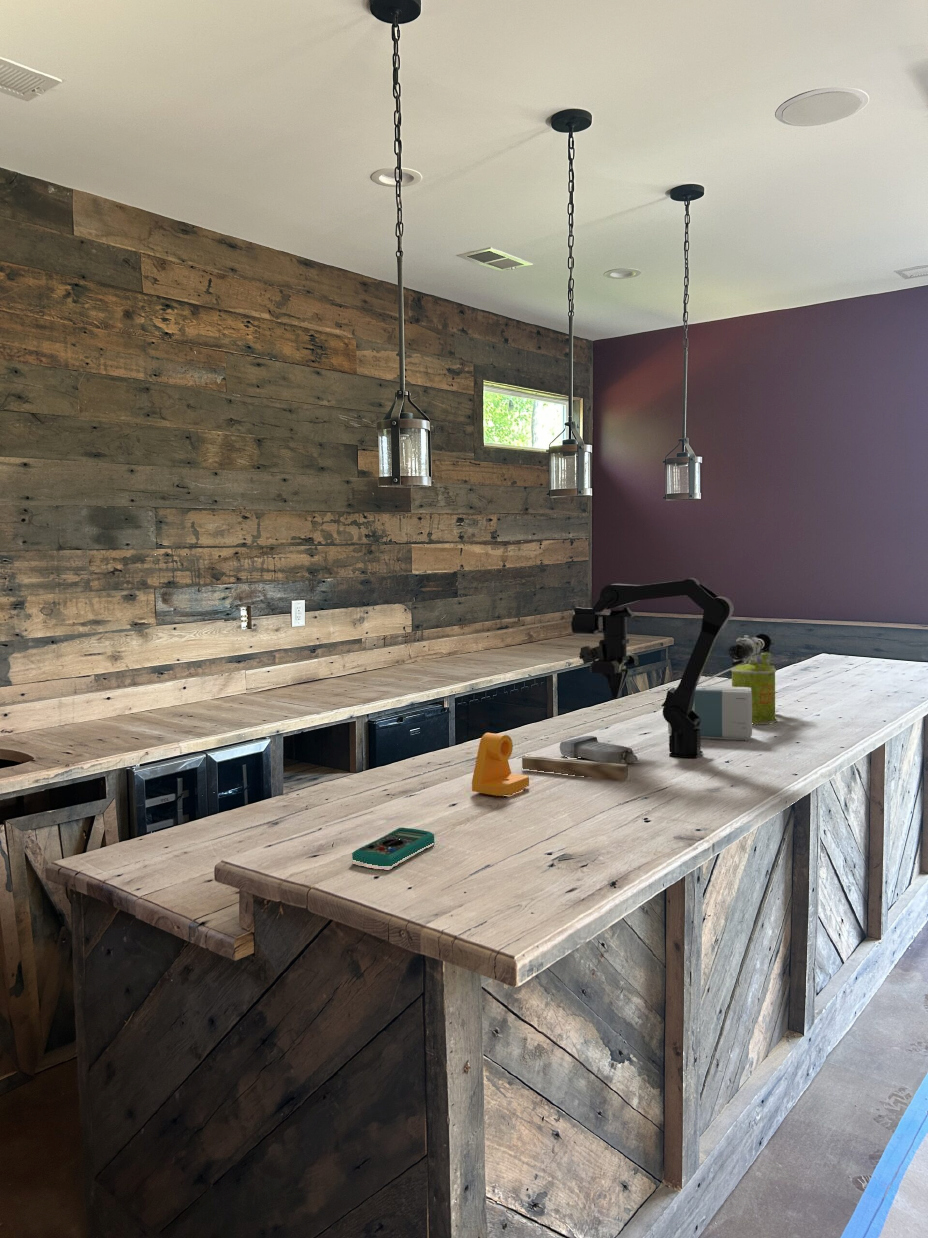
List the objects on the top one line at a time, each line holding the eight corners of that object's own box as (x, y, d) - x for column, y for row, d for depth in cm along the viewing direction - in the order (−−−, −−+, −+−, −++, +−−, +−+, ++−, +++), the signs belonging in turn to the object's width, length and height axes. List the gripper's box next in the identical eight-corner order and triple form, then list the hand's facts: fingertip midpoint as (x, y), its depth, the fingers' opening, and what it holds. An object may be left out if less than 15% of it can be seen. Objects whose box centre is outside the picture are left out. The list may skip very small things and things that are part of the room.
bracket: (500, 800, 182) (499, 741, 181) (472, 795, 186) (470, 737, 185) (531, 788, 190) (530, 732, 189) (503, 784, 195) (502, 728, 194)
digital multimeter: (349, 868, 145) (348, 850, 145) (400, 841, 158) (399, 824, 158) (387, 875, 141) (387, 857, 141) (436, 847, 154) (435, 830, 154)
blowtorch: (790, 713, 270) (790, 629, 268) (761, 732, 242) (761, 639, 240) (745, 710, 277) (745, 628, 275) (712, 728, 249) (712, 637, 247)
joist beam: (628, 778, 196) (628, 763, 196) (623, 781, 194) (623, 766, 194) (528, 768, 208) (527, 754, 208) (522, 770, 206) (522, 756, 205)
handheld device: (625, 770, 205) (625, 750, 205) (555, 759, 219) (555, 739, 219) (649, 762, 212) (648, 743, 211) (579, 752, 226) (579, 733, 225)
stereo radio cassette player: (667, 738, 238) (666, 662, 236) (672, 732, 245) (671, 659, 244) (751, 743, 230) (750, 664, 228) (753, 736, 237) (753, 660, 236)
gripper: (597, 631, 235) (598, 691, 236) (569, 637, 218) (570, 702, 219) (639, 632, 229) (639, 693, 230) (613, 638, 213) (614, 704, 214)
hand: (615, 698), depth 224 cm, fingers closed
